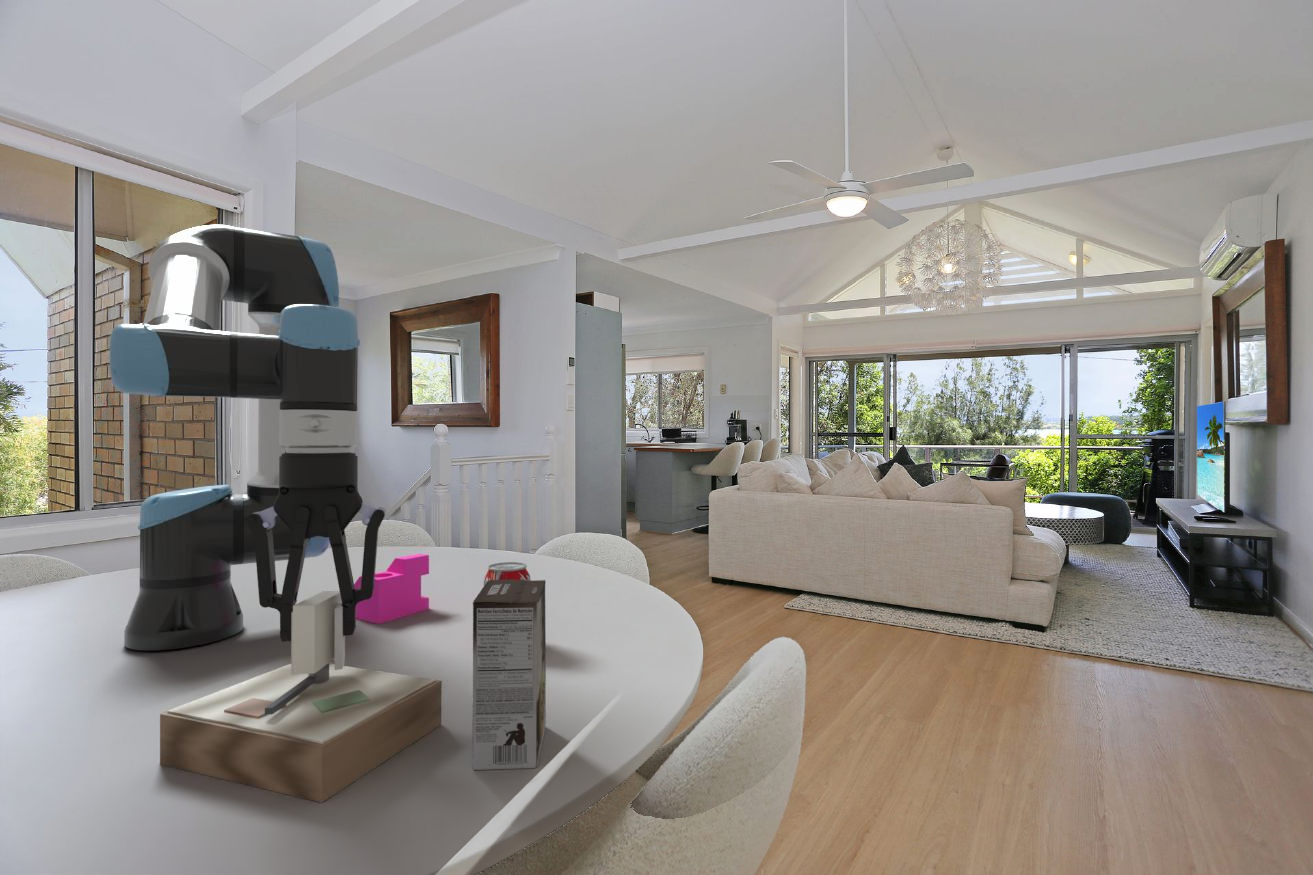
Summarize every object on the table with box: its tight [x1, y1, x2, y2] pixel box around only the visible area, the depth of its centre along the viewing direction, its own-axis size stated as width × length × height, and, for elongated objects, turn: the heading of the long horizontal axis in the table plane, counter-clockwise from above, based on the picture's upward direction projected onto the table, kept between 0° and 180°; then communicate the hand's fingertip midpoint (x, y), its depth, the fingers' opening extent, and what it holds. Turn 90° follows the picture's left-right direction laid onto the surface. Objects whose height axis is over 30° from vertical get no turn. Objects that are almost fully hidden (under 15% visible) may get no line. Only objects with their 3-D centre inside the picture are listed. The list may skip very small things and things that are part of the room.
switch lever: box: [265, 590, 342, 714], centre depth 66 cm, size 2×13×9 cm, turn 2°
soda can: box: [483, 561, 532, 587], centre depth 98 cm, size 7×7×12 cm
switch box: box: [159, 663, 443, 804], centre depth 66 cm, size 20×16×5 cm
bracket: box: [354, 553, 430, 625], centre depth 115 cm, size 12×10×10 cm
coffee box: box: [472, 579, 547, 771], centre depth 65 cm, size 9×6×16 cm
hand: (318, 667), depth 69 cm, fingers closed on switch lever, 3 cm apart
